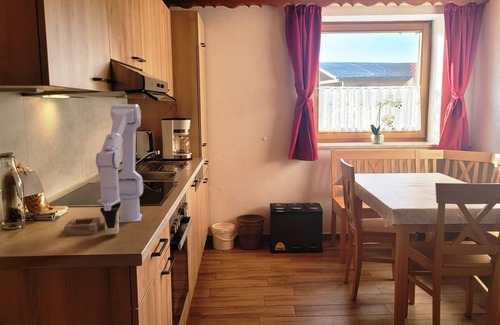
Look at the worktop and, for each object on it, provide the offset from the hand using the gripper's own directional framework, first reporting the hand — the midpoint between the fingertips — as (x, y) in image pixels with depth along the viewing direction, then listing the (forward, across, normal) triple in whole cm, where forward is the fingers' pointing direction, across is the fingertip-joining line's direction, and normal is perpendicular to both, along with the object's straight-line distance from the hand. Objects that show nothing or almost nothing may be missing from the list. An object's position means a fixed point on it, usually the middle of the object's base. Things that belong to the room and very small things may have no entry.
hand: (112, 225), depth 139 cm
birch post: (+2, 0, 0) cm, 2 cm away
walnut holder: (+3, -8, -11) cm, 14 cm away
